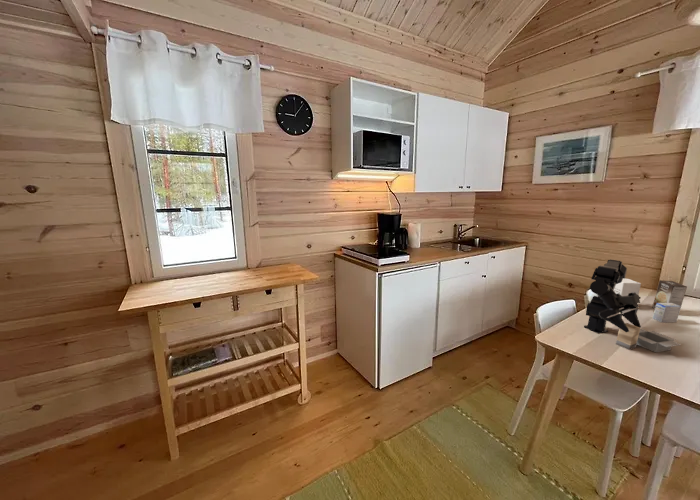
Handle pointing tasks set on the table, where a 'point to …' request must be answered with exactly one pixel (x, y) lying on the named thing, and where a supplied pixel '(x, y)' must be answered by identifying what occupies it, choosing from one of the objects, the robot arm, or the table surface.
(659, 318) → the medicine box
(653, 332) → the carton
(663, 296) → the coffee box
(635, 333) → the box
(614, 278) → the robot arm
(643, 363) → the table surface
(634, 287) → the supplement box
